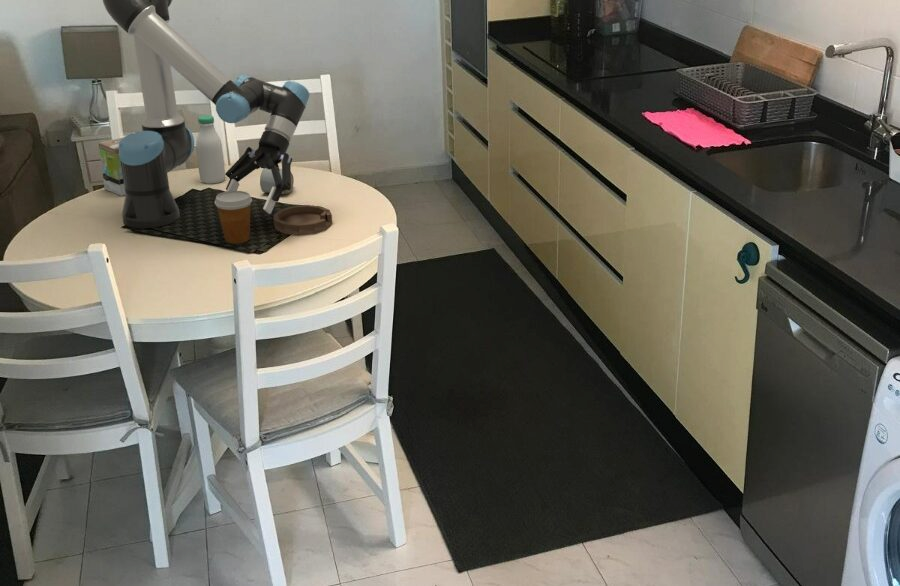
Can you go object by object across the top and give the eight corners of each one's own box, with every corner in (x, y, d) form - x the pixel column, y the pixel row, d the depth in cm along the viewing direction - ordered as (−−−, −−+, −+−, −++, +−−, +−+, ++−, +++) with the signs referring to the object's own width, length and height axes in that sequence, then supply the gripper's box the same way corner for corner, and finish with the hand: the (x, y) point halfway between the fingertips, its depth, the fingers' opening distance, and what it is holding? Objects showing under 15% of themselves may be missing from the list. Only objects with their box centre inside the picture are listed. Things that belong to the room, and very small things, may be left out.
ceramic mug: (286, 197, 282) (284, 172, 279) (260, 195, 284) (258, 170, 281) (300, 187, 292) (298, 162, 289) (275, 185, 294) (273, 160, 291)
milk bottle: (230, 180, 298) (224, 116, 289) (209, 186, 293) (202, 121, 284) (216, 174, 303) (209, 112, 294) (195, 180, 298) (187, 117, 289)
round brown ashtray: (277, 237, 254) (276, 227, 253) (271, 217, 267) (271, 208, 266) (335, 231, 258) (335, 221, 256) (327, 212, 271) (326, 203, 270)
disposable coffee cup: (212, 244, 250) (207, 200, 245) (229, 231, 258) (224, 188, 253) (245, 247, 248) (241, 203, 243) (262, 234, 256) (257, 191, 251)
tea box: (122, 197, 284) (114, 148, 278) (104, 189, 290) (96, 142, 284) (166, 184, 294) (159, 137, 288) (148, 177, 300) (141, 131, 294)
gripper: (321, 149, 254) (291, 221, 249) (248, 137, 265) (217, 206, 260) (308, 135, 248) (276, 208, 242) (233, 123, 259) (201, 193, 254)
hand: (246, 207), depth 251 cm, fingers open, 13 cm apart
